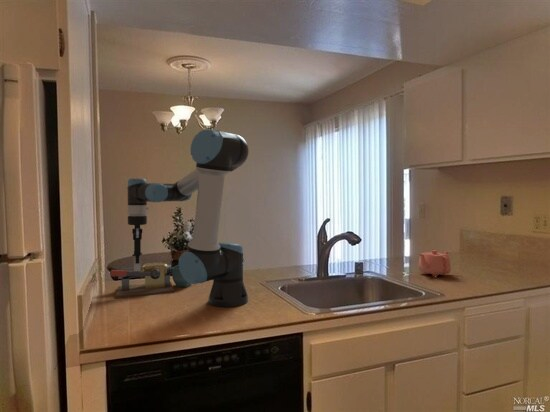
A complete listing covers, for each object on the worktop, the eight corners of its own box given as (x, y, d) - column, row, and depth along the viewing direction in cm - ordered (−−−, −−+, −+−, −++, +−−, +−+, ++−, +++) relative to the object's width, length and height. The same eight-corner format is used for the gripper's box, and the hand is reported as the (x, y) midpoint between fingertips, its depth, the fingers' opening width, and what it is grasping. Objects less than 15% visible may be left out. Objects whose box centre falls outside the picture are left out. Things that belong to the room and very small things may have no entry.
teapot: (418, 277, 181) (418, 252, 180) (418, 270, 196) (418, 247, 196) (451, 279, 175) (451, 253, 175) (449, 272, 190) (449, 248, 190)
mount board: (174, 292, 156) (174, 289, 156) (116, 298, 148) (116, 295, 148) (170, 283, 171) (170, 281, 171) (117, 288, 163) (117, 286, 163)
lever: (159, 279, 155) (160, 270, 155) (110, 278, 148) (111, 268, 148) (159, 278, 157) (160, 269, 157) (110, 277, 150) (111, 267, 150)
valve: (171, 287, 160) (171, 265, 160) (117, 292, 152) (117, 269, 152) (170, 283, 168) (169, 261, 168) (118, 287, 160) (118, 265, 160)
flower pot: (189, 288, 162) (188, 268, 162) (170, 287, 164) (170, 268, 164) (197, 283, 171) (196, 264, 170) (179, 283, 172) (179, 264, 172)
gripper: (147, 216, 148) (147, 273, 149) (146, 214, 160) (146, 267, 161) (127, 216, 145) (127, 274, 146) (127, 214, 157) (128, 268, 158)
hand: (137, 270), depth 153 cm, fingers closed
